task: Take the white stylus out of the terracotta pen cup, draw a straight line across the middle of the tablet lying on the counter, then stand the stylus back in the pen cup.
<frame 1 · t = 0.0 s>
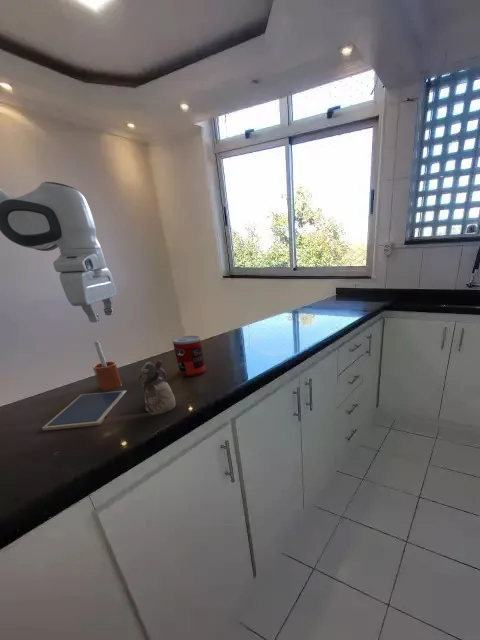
hand: (102, 318, 83), 20 cm above the table, tool pointing down, fingers open, 8 cm apart
figurine: (161, 408, 77), on the table
pen cup: (111, 387, 90), on the table
tablet: (89, 409, 78), on the table
canned food: (193, 373, 99), on the table
stylus: (111, 385, 90), point 1 cm above the table, touching pen cup
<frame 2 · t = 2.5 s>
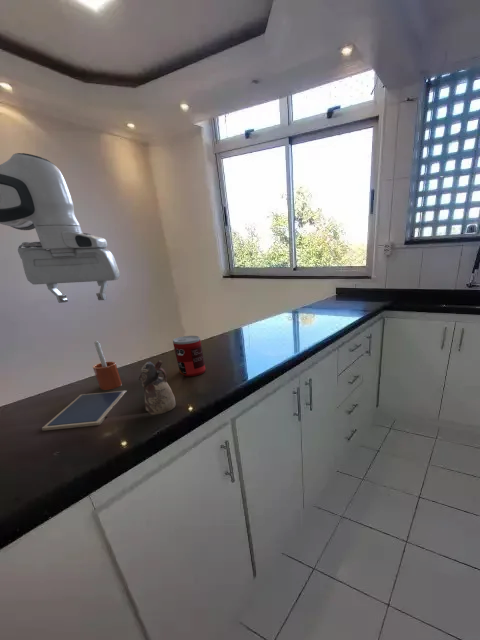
hand: (83, 301, 79), 24 cm above the table, tool pointing down, fingers open, 8 cm apart
nothing on the table moved.
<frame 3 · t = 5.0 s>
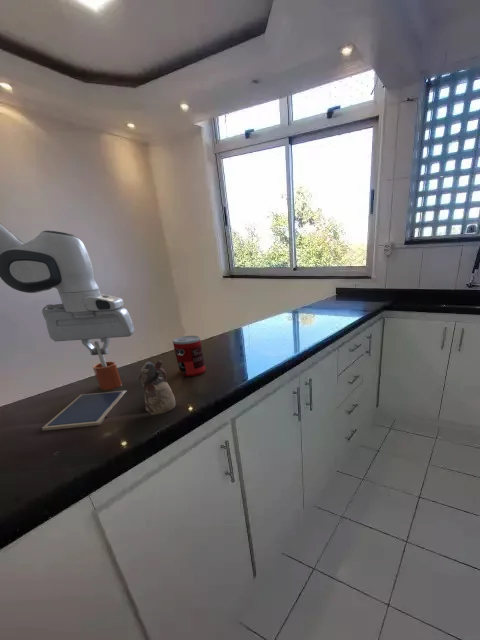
hand: (100, 354, 86), 10 cm above the table, tool pointing down, fingers closed on stylus, 1 cm apart
stylus: (111, 385, 90), point 1 cm above the table, touching gripper, pen cup
everything else where it was.
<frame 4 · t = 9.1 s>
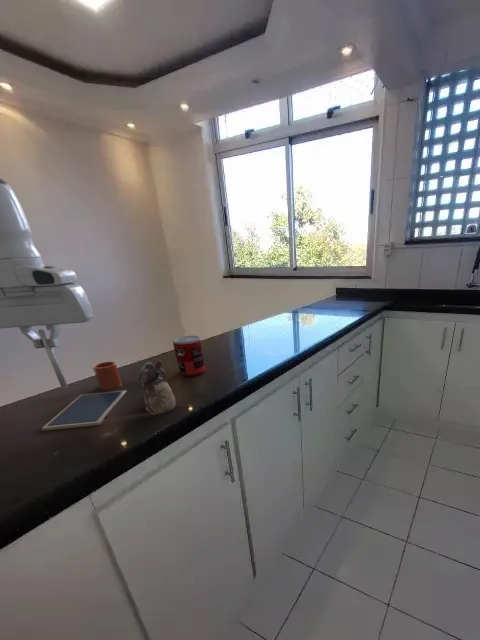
hand: (48, 346, 64), 18 cm above the table, tool pointing down, fingers closed on stylus
stylus: (65, 388, 69), point 8 cm above the table, touching gripper
everything else where it was.
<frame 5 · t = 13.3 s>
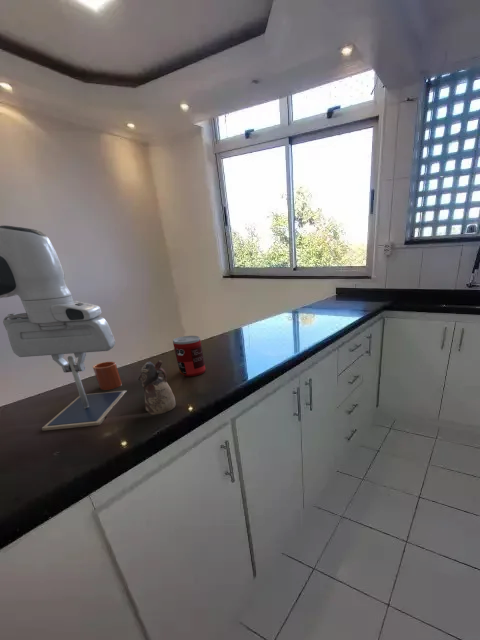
hand: (75, 371, 73), 10 cm above the table, tool pointing down, fingers closed on stylus, 1 cm apart
stylus: (86, 408, 77), point 1 cm above the table, touching gripper
everything else where it was.
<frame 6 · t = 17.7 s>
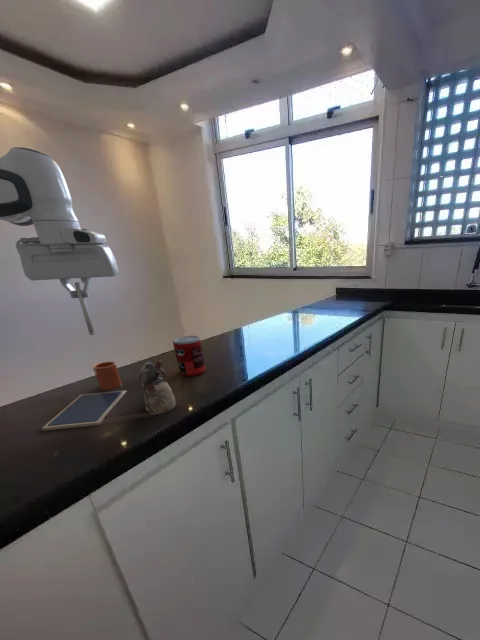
hand: (81, 297, 79), 25 cm above the table, tool pointing down, fingers closed on stylus
stylus: (92, 335, 82), point 16 cm above the table, touching gripper
everything else where it was.
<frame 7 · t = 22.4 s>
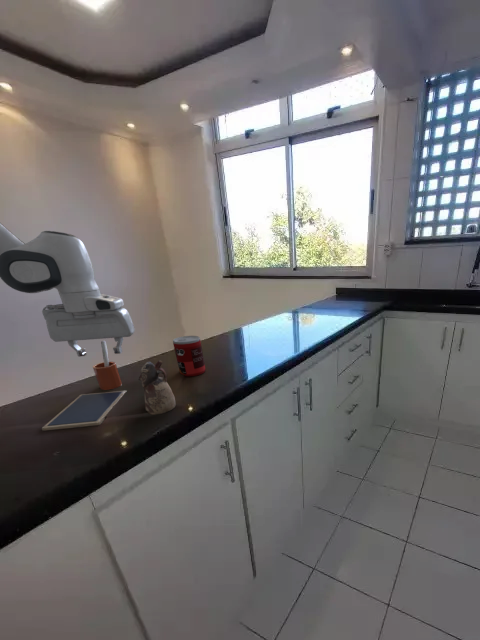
hand: (100, 354, 86), 10 cm above the table, tool pointing down, fingers open, 8 cm apart
stylus: (110, 386, 89), point 1 cm above the table, tilted 22°, touching pen cup
everything else where it was.
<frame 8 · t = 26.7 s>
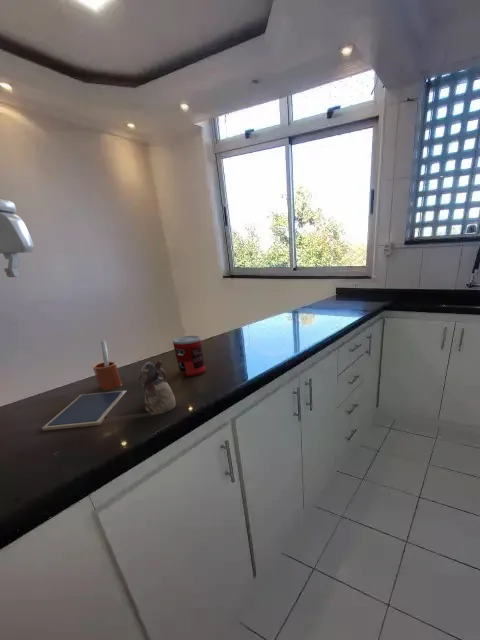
nothing on the table moved.
at the end: stylus 0.9 cm off-centre in the pen cup, point 0.6 cm above the pen cup's base; stylus tilted 22°; the gripper is holding nothing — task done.
